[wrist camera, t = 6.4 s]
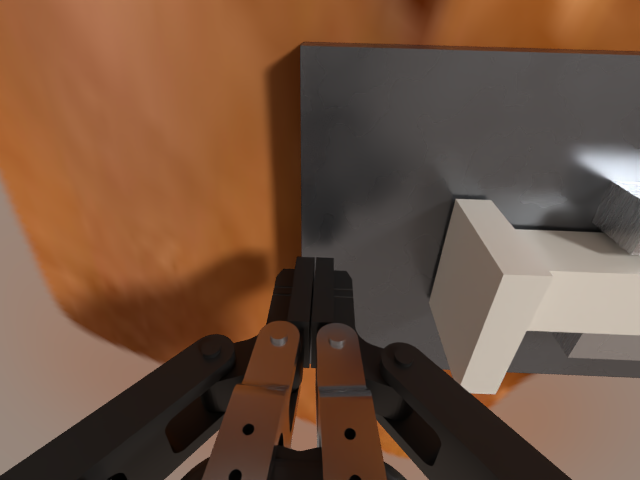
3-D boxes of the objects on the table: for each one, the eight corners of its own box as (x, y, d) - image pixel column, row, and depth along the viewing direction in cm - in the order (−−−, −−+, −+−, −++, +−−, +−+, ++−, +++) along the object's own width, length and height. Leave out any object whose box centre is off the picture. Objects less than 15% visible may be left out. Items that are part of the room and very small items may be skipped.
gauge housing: (303, 41, 13) (265, 83, 6) (988, 61, 12) (1864, 133, 5) (304, 342, 22) (289, 506, 14) (706, 359, 21) (893, 537, 14)
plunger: (455, 198, 14) (503, 274, 10) (799, 211, 14) (988, 293, 10) (428, 302, 17) (457, 392, 13) (710, 314, 17) (826, 408, 13)
